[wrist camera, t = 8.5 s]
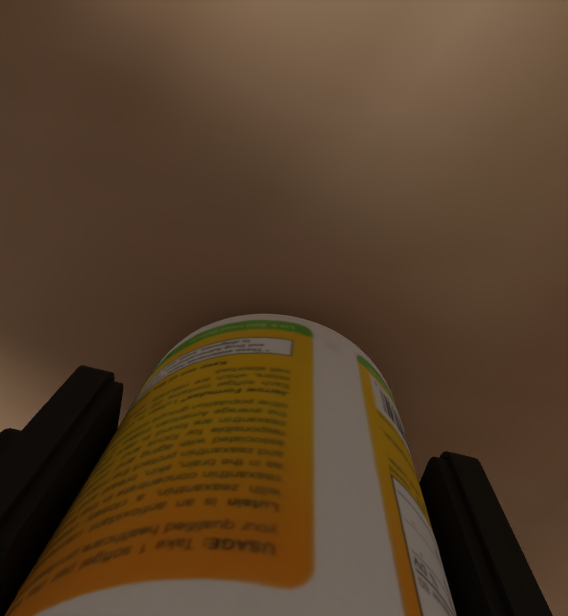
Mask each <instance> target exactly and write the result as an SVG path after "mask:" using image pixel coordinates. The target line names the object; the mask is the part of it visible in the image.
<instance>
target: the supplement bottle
mask: <svg viewBox="0 0 568 616" xmlns="http://www.w3.org/2000/svg"><path fill="white" fill-rule="evenodd" d="M4 616H457V615H456V611H455V608H454V604H453V600H452V597H451V593H450V590H449V586H448V582H447V579H446V575H445V572H444V568H443V565H442V561H441V557H440V553H439V549H438V546H437V542H436V539H435V536H434V533H433V530H432V527H431V523H430V520H429V516H428V513H427V509H426V505H425V502H424V499H423V495H422V492H421V488H420V485H419V482H418V478H417V475H416V470H415V467H414V463H413V460H412V457H411V453H410V450H409V446H408V443H407V439H406V435H405V431H404V428H403V424H402V421H401V418H400V415H399V412H398V409H397V406H396V403H395V401H394V398H393V396H392V393H391V391H390V389H389V386H388V384H387V383H386V381H385V379H384V377H383V376H382V374H381V373H380V371H379V370H378V368H377V367H376V366H375V365H374V363H373V362H372V361H371V359H370V358H369V357H368V356H367V355H366V354H365V353H364V352H363V351H362V350H361V349H360V348H358V347H357V346H356V345H355V344H354V343H352V342H351V341H350V340H348V339H347V338H345V337H344V336H342V335H341V334H339V333H337V332H335V331H334V330H332V329H330V328H328V327H325V326H323V325H321V324H318V323H315V322H312V321H309V320H306V319H302V318H298V317H294V316H288V315H280V314H250V315H241V316H235V317H230V318H226V319H223V320H220V321H217V322H214V323H211V324H209V325H207V326H204V327H202V328H200V329H198V330H197V331H195V332H193V333H191V334H190V335H189V336H187V337H186V338H184V339H183V340H182V341H180V342H179V343H178V344H177V345H176V346H175V347H173V348H172V349H171V350H170V351H169V352H168V353H167V354H166V355H165V357H164V358H163V359H162V360H161V361H160V363H159V364H158V365H157V367H156V368H155V370H154V371H153V372H152V373H151V375H150V376H149V378H148V379H147V381H146V382H145V384H144V385H143V387H142V389H141V390H140V392H139V394H138V395H137V397H136V399H135V400H134V402H133V404H132V405H131V407H130V409H129V411H128V412H127V414H126V416H125V418H124V419H123V421H122V422H121V424H120V426H119V427H118V429H117V430H116V432H115V434H114V436H113V437H112V439H111V441H110V443H109V444H108V446H107V447H106V449H105V451H104V452H103V454H102V456H101V457H100V459H99V461H98V462H97V464H96V466H95V467H94V469H93V471H92V472H91V474H90V476H89V478H88V479H87V481H86V482H85V484H84V485H83V487H82V488H81V490H80V492H79V494H78V495H77V497H76V498H75V500H74V501H73V503H72V505H71V506H70V508H69V510H68V511H67V513H66V515H65V516H64V518H63V519H62V521H61V522H60V524H59V526H58V528H57V529H56V530H55V532H54V534H53V536H52V538H51V539H50V541H49V542H48V544H47V545H46V547H45V548H44V550H43V552H42V553H41V555H40V556H39V558H38V560H37V562H36V564H35V565H34V566H33V568H32V570H31V572H30V574H29V575H28V577H27V578H26V580H25V581H24V583H23V584H22V586H21V587H20V589H19V591H18V593H17V595H16V598H15V599H14V601H13V602H12V604H11V606H10V607H9V609H8V610H7V612H6V614H5V615H4Z"/></svg>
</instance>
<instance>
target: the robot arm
mask: <svg viewBox="0 0 568 616" xmlns="http://www.w3.org/2000/svg"><path fill="white" fill-rule="evenodd" d="M122 395H123V384H122V383H119V382H115V381H114V374H113V372H108V371H104V370H100V369H96V368H92V367H87V366H80V367H78V368H77V369H76V370H75V372H74V373H73V374H72V375H71V376H70V377H69V378H68V379H67V380H66V382H65V383H64V384H63V385H62V386H61V387H60V388H59V389H58V391H57V392H56V393H55V394H54V395H53V396H52V397H51V398H50V399H49V401H48V402H47V403H46V404H45V405H44V406H43V407H42V408H41V410H40V411H39V412H38V413H37V414H36V415H35V416H34V417H33V418H32V420H31V421H30V422H29V423H28V424H27V425H26V426H25V427H24V429H23V430H22V431H20V430H16V429H12V428H8V429H5V430H3V431H2V432H1V433H0V616H4V615H5V614H6V612H7V610H8V609H9V607H10V606H11V604H12V602H13V601H14V599H15V598H16V595H17V593H18V591H19V589H20V587H21V586H22V584H23V583H24V581H25V580H26V578H27V577H28V575H29V574H30V572H31V570H32V568H33V566H34V565H35V564H36V562H37V560H38V558H39V556H40V555H41V553H42V552H43V550H44V548H45V547H46V545H47V544H48V542H49V541H50V539H51V538H52V536H53V534H54V532H55V530H56V529H57V528H58V526H59V524H60V522H61V521H62V519H63V518H64V516H65V515H66V513H67V511H68V510H69V508H70V506H71V505H72V503H73V501H74V500H75V498H76V497H77V495H78V494H79V492H80V490H81V488H82V487H83V485H84V484H85V482H86V481H87V479H88V478H89V476H90V474H91V472H92V471H93V469H94V467H95V466H96V464H97V462H98V461H99V459H100V457H101V456H102V454H103V452H104V451H105V449H106V447H107V446H108V444H109V443H110V441H111V439H112V437H113V436H114V434H115V432H116V430H117V428H118V421H119V415H120V408H121V401H122ZM419 485H420V488H421V492H422V495H423V499H424V502H425V505H426V509H427V513H428V516H429V520H430V523H431V527H432V530H433V533H434V536H435V539H436V542H437V546H438V549H439V553H440V557H441V561H442V565H443V568H444V572H445V575H446V579H447V582H448V586H449V590H450V593H451V597H452V600H453V604H454V608H455V611H456V615H457V616H553V615H552V613H551V611H550V609H549V607H548V605H547V603H546V600H545V598H544V596H543V594H542V592H541V590H540V588H539V586H538V584H537V581H536V579H535V577H534V575H533V573H532V571H531V569H530V567H529V565H528V563H527V560H526V558H525V556H524V554H523V552H522V550H521V548H520V546H519V544H518V541H517V539H516V537H515V535H514V533H513V531H512V529H511V527H510V525H509V523H508V520H507V518H506V516H505V514H504V512H503V510H502V508H501V506H500V504H499V501H498V499H497V497H496V495H495V493H494V491H493V489H492V487H491V485H490V482H489V480H488V478H487V476H486V474H485V472H484V470H483V468H482V466H481V464H480V462H479V461H478V459H476V458H473V457H468V456H464V455H460V454H456V453H451V452H447V451H446V452H443V453H442V454H441V455H440V457H439V458H437V457H432V458H431V459H430V460H429V462H428V464H427V466H426V469H425V471H424V474H423V476H422V478H421V481H420V483H419Z"/></svg>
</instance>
